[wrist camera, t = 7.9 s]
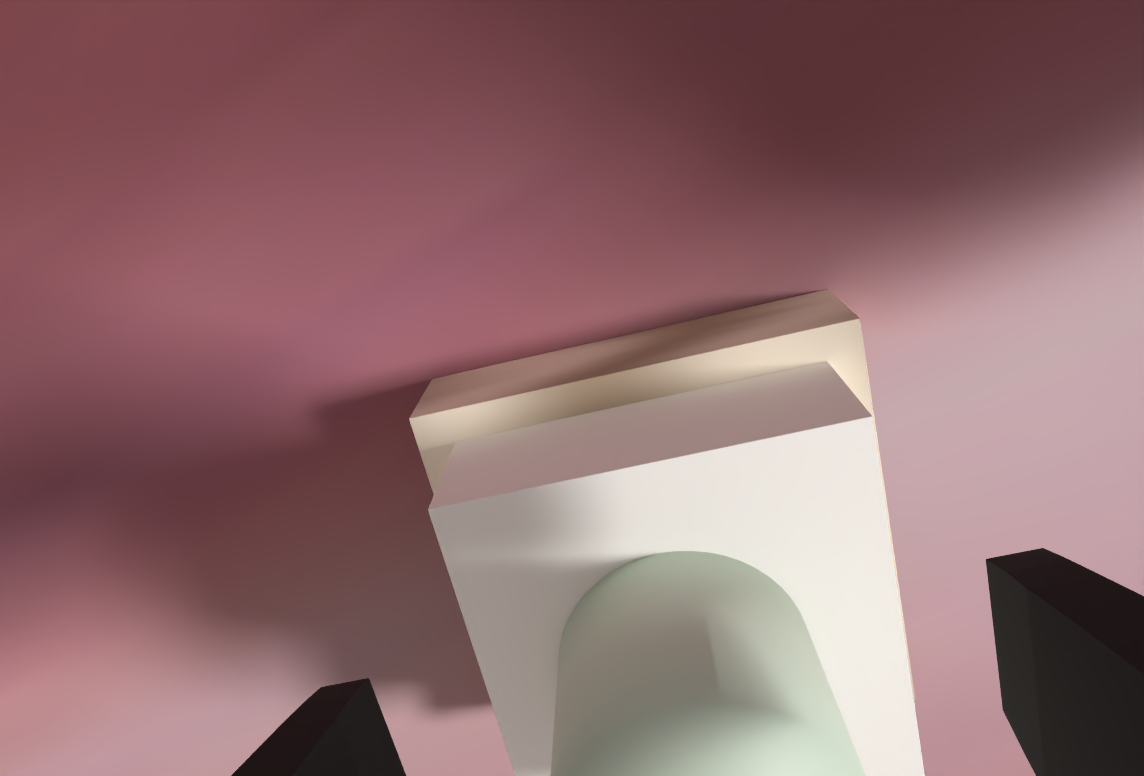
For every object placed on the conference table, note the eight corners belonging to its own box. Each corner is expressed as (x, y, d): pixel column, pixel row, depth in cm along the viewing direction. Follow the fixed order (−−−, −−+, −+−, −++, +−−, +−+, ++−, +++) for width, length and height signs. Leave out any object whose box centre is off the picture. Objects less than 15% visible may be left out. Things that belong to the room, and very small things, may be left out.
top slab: (827, 361, 17) (872, 415, 14) (878, 679, 19) (925, 781, 16) (455, 441, 18) (427, 509, 15) (547, 738, 20) (538, 844, 17)
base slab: (822, 284, 19) (859, 318, 17) (875, 624, 22) (915, 703, 19) (435, 372, 20) (409, 418, 18) (533, 688, 23) (523, 771, 20)
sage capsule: (787, 526, 15) (853, 673, 11) (829, 741, 16) (901, 938, 12) (530, 579, 15) (508, 738, 11) (591, 784, 17) (590, 987, 13)
